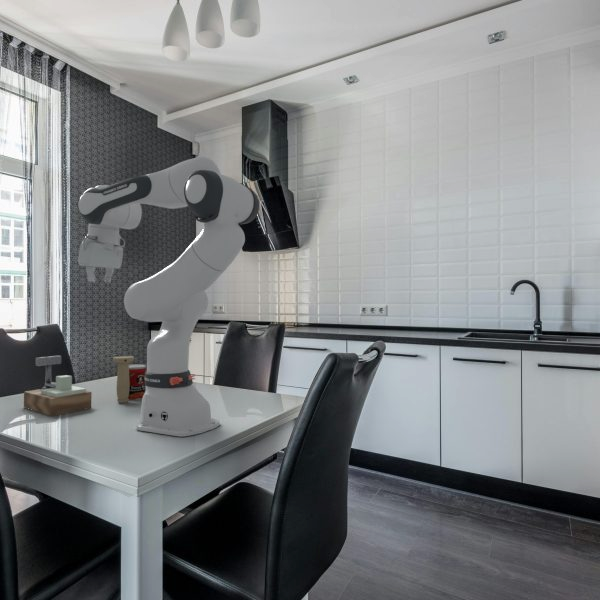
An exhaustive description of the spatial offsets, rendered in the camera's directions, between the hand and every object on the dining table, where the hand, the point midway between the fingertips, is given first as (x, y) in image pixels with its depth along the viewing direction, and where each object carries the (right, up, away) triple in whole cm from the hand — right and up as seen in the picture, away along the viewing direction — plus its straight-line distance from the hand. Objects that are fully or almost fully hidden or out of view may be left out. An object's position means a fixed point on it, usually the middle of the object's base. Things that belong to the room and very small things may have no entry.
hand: (99, 281), depth 132 cm
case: (-13, -40, -1) cm, 42 cm away
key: (-15, -34, +1) cm, 38 cm away
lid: (-10, -35, -3) cm, 36 cm away
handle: (+5, -40, +7) cm, 41 cm away
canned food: (+5, -40, +15) cm, 43 cm away
